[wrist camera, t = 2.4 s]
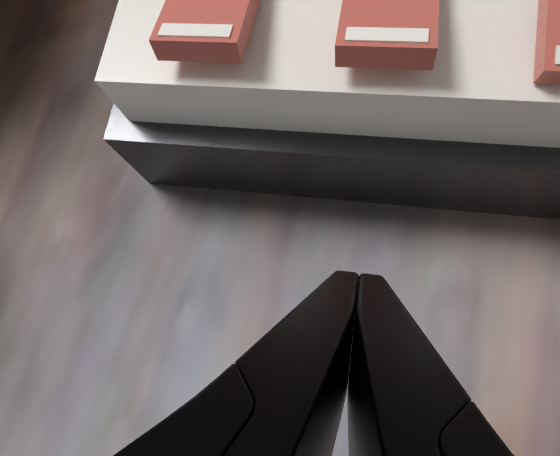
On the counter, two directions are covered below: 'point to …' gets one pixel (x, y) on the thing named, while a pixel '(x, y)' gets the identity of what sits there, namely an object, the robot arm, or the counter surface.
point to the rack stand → (344, 166)
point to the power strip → (343, 77)
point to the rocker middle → (387, 34)
